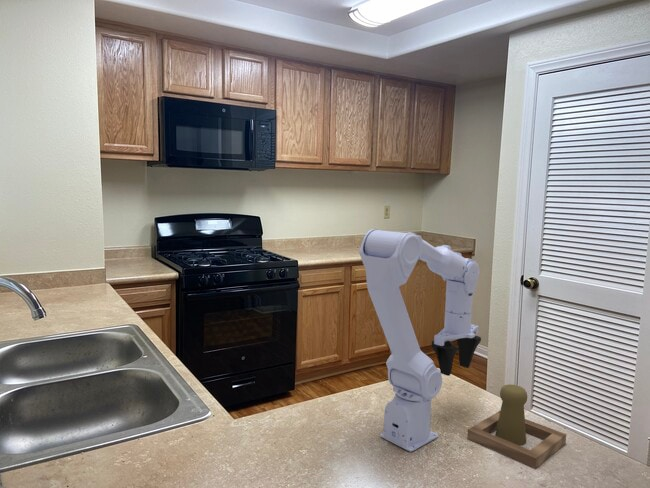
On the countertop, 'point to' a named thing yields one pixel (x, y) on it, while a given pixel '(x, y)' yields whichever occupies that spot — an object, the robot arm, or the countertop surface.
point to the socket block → (529, 457)
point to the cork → (512, 415)
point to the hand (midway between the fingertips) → (455, 370)
